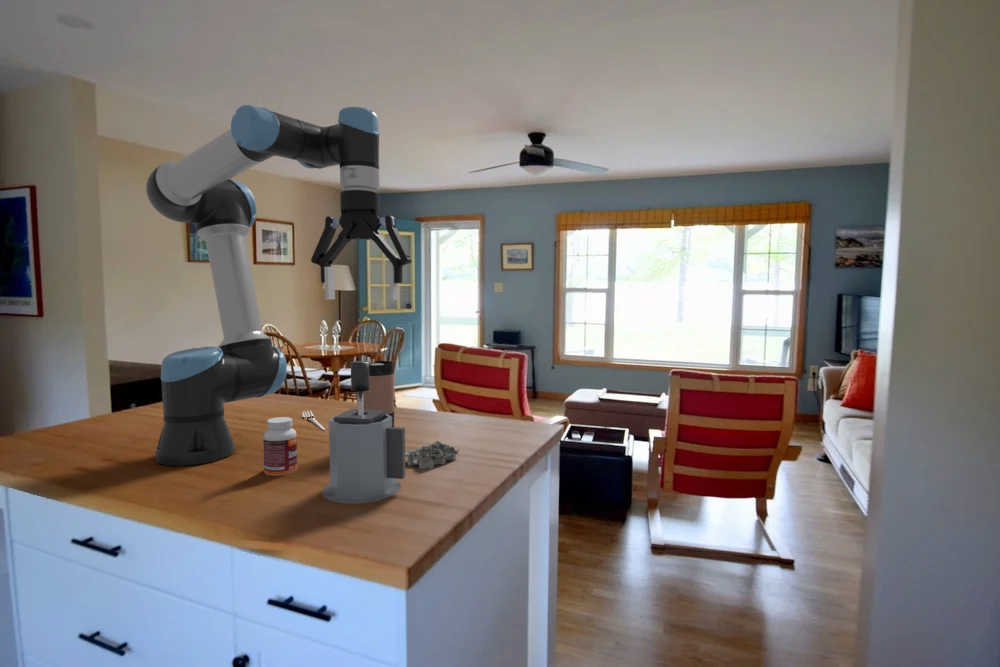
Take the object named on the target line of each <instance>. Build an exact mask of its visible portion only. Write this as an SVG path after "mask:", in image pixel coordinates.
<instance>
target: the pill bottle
mask: <svg viewBox="0 0 1000 667" xmlns="http://www.w3.org/2000/svg"><path fill="white" fill-rule="evenodd" d="M266 427H267V430H266V431H265V432H264V434H263V436H262V437H263V438H262V440H263V473H264V474H265V475H267V476H285V475H289V474H292V473H295V472H296V471H297V470H298V437H297V436H298V435H297V431H296V430H295V429H294V428H292V427H293V418H291V417H288V416H279V417H271V418H268V419H267V420H266Z"/></svg>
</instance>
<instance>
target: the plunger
mask: <svg viewBox="0 0 1000 667" xmlns="http://www.w3.org/2000/svg"><path fill="white" fill-rule="evenodd" d="M369 364H370V361H369V360H354V361H350V391H352V392H356V393H357V409H358V415H364V406H363V391H368V390H370V386H369ZM363 424H364V423H358V425H363Z"/></svg>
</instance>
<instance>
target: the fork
mask: <svg viewBox="0 0 1000 667" xmlns="http://www.w3.org/2000/svg"><path fill="white" fill-rule="evenodd" d="M309 411H310V412H309ZM301 412H302V418H303V417H306V418H307V417H310V416H311V418H309V421H311V422H312V421H313V422H314V423H315V424H317V425H318V426H319V427H320V428H322V429H324V430H325V429H326V428H324V427H323V425H322V424H321V423H320V422H319V421H317V419H316V420H315V418H316V417H315V415H314V414H313V412H312V410H311V409H310V410H307V412H306V410H304V411H301ZM312 416H314V417H315V418H312ZM313 422H312V423H313ZM314 423H313V424H314ZM315 424H314V425H315ZM318 426H317V427H318ZM319 427H318V428H319ZM320 428H319V429H320ZM322 429H321V430H322Z"/></svg>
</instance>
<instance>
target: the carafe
mask: <svg viewBox="0 0 1000 667" xmlns="http://www.w3.org/2000/svg"><path fill="white" fill-rule="evenodd" d="M358 423H364V424H363V425H358ZM328 437H329V441H328V442H329V444H328V445H329V483H330V490H331V491H332V492H333V493H334V494H335V495H336V496H337V497H338V498H346V499H358V500H362V499H366V498H371V497H375V496H380V495H384V494H385V493H386V492H387V491H388V490H389V489H390V488H391V487H392V486H393V478H394V479H396V480H397V479H398V480H400V479H401V480H403V479H405V478H406V457H405V453H406V427H398V426H397V427H396V426H394V427H392V416H390V415H388V414H386V410H369V409H364V415H358V408H350V409H348V410H345V411H344V412H342V413H339V414H337V415H335V416H333V417H331V418H329V419H328Z"/></svg>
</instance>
